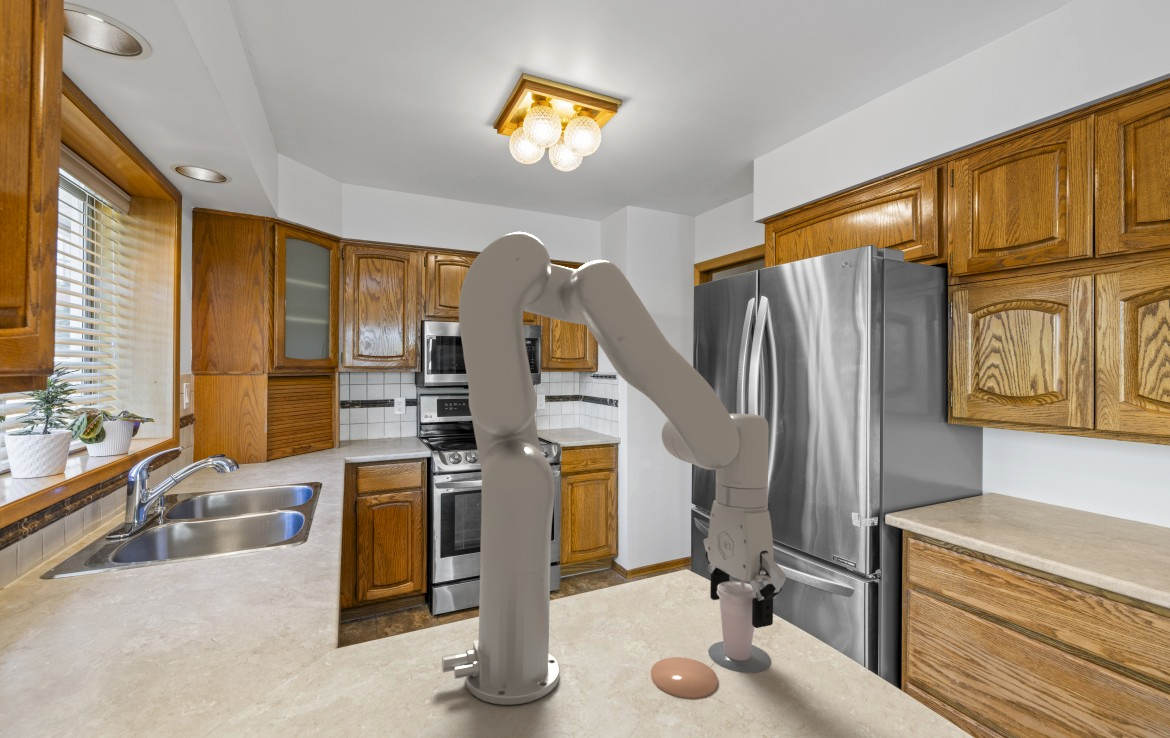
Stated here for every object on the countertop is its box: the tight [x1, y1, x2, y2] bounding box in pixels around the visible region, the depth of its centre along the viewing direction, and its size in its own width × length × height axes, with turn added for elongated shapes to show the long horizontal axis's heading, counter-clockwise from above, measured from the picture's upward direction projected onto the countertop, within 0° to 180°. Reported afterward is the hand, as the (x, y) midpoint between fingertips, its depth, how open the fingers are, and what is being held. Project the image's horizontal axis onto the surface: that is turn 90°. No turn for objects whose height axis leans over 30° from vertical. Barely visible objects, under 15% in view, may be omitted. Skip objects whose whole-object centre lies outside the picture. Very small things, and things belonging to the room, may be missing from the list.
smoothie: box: [717, 580, 756, 661], centre depth 78 cm, size 6×6×14 cm
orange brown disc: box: [650, 656, 719, 699], centre depth 72 cm, size 9×9×1 cm
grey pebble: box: [707, 640, 772, 674], centre depth 78 cm, size 9×9×1 cm
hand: (739, 611), depth 78 cm, fingers open, 9 cm apart
